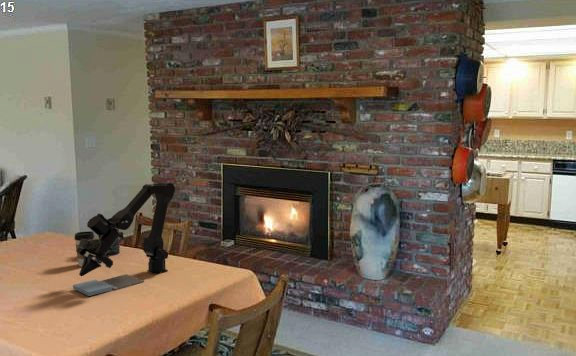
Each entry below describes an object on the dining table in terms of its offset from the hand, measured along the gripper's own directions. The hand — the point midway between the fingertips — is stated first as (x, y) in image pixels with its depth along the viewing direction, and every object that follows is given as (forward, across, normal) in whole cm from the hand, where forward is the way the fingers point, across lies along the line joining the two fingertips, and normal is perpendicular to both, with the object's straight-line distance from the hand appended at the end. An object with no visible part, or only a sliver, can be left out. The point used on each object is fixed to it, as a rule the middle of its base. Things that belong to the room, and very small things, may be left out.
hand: (80, 275), depth 193 cm
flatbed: (-7, 0, +17) cm, 18 cm away
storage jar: (-20, -42, +31) cm, 56 cm away
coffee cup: (-8, -33, +19) cm, 39 cm away
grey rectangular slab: (-2, 0, +11) cm, 11 cm away
